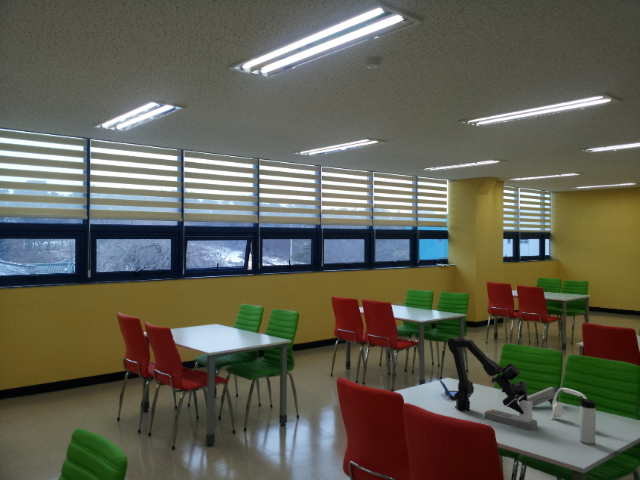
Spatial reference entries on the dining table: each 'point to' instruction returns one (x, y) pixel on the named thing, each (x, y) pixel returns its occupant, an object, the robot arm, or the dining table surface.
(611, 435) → the dining table surface
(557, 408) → the headset
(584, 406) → the travel mug
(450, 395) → the handheld game console
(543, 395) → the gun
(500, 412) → the power strip
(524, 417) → the plain gray block
